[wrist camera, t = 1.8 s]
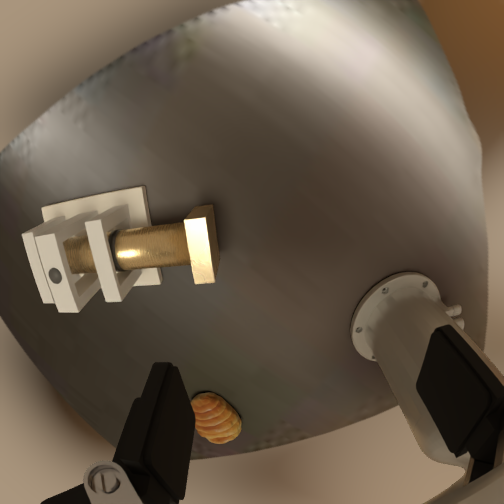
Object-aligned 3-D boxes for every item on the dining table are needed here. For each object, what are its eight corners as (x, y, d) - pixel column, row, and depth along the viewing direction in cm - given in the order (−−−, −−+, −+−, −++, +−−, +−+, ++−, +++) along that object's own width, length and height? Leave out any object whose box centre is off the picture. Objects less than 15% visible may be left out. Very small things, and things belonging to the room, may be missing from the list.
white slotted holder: (145, 185, 26) (103, 204, 18) (162, 280, 30) (135, 328, 21) (46, 205, 26) (-5, 228, 18) (67, 286, 30) (27, 325, 22)
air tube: (212, 204, 26) (205, 217, 21) (220, 258, 27) (214, 282, 23) (69, 224, 26) (42, 240, 21) (81, 270, 28) (57, 291, 23)
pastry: (179, 392, 36) (175, 412, 33) (225, 385, 36) (224, 406, 32) (205, 428, 39) (202, 447, 36) (245, 423, 39) (246, 442, 35)
